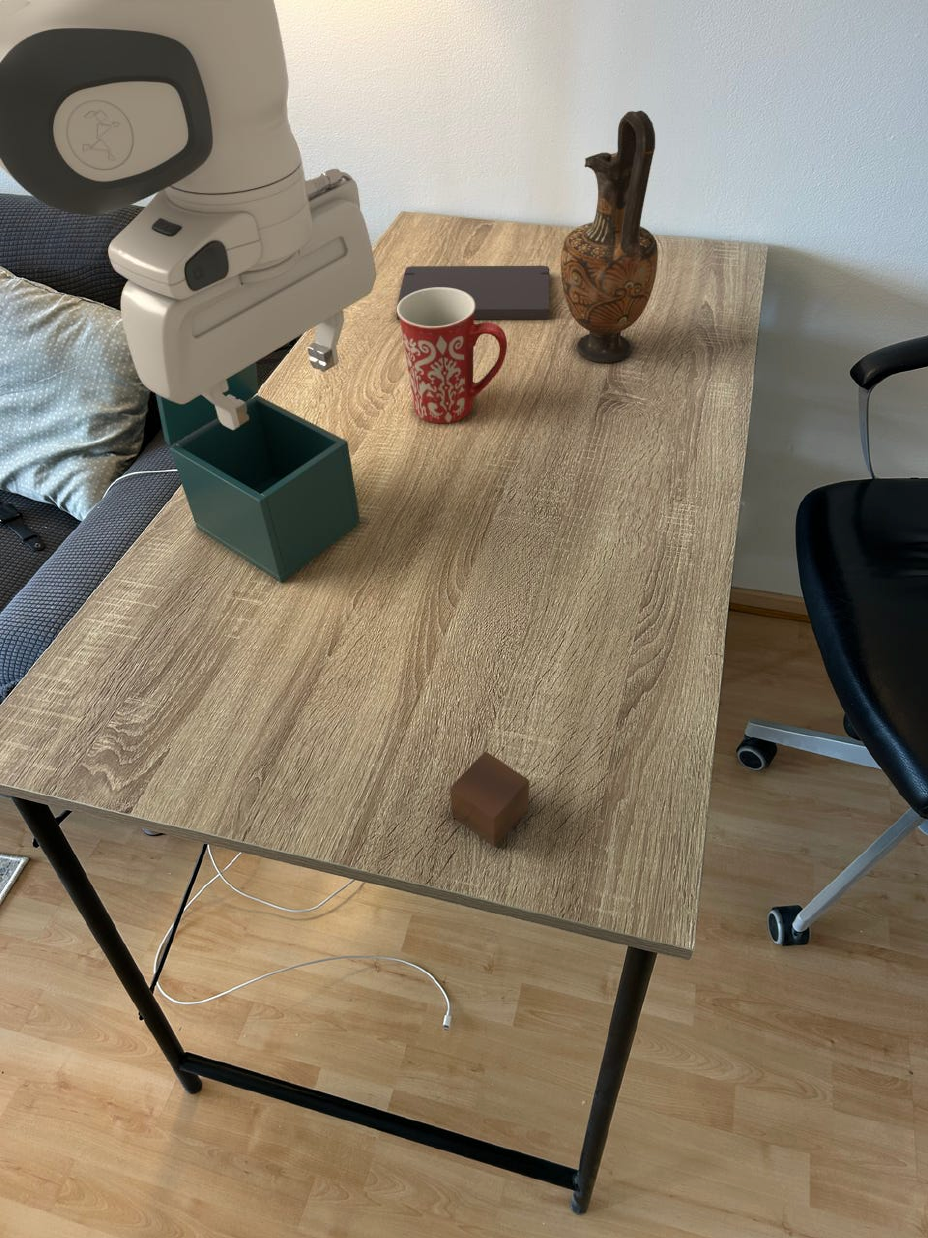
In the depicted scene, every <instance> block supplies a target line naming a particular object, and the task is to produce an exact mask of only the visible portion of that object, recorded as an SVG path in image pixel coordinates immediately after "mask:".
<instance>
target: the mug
mask: <svg viewBox="0 0 928 1238" xmlns="http://www.w3.org/2000/svg"><path fill="white" fill-rule="evenodd" d="M397 304H398V303H397ZM396 308H397V312H396V315H397V314H398V317H399V318H400V319H399V322H400V329H401V335H402V343H403V347H404V354H405V359H406V365H407V373H408V378H409V384H410V390H411V397H412V403H413V409H414V413H416V415H417V416H418V417H419V418H420V419H422V420H423V421H425V422H429V423H433V424H449V423H454V422H457V421H460V420H462V419H464V418H465V417H467V416H468V415H469V414H470V413H471V411H472V410H473V405H474V398H475V397H477V396H478V395H479V394H480V393H481V392H482V391H483V390H485V388H486V387H487V386H488V385H489V384H490V383H491V381H492V380H493V379H494V378H495V377H496V375H497V374H498V373H499V372H500V370H501V368H502V366H503V365H504V362H505V359H506V355H507V348H508V341H507V340H508V339H507V336H506V333H505V331H504V330H503V328H502V327H501V326H500V325H498V324H495V322H488V321H486V322H485V321H484V322H481V323H474V322H475V319H474V312H475V308H476V304H475V301H474V299H473V298H472V297H471V296H470V295H469V294H467V293H466V292H464V291H461V290H458V289H454V288H446V287H435V288H427V289H422V290H418V291H416V292H413V293H411V294H409V295H407V296H406V297H404V298H403V299H402V300H401V301H400V302H399V304H398V306H397V305H396ZM482 335H490V336H492V337H494V338H495V340H496V341H497V343H498V346H499V352H498V356H497V359H496V361H495V363H494V364H493V366H492V367H491V369H490V370H489V371H488V372H487V374H485V376H483V378H482V379H480V380H479V381H478V382H475V381H474V347H475V346H476V345H477V342H478V339H479V337H481V336H482Z"/></svg>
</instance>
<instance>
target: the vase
mask: <svg viewBox="0 0 928 1238" xmlns="http://www.w3.org/2000/svg"><path fill="white" fill-rule="evenodd" d="M655 150H656V132H655V127H654V124H653V122H652V119H651V118H650V117H649V115H648V114H647V113H646V112H645V111H643V110H637V111H633V110H631V111H627V112H626V113H625V114H624V116H622V117H621V118H620V121H619V123H618V128H617V150H616V151H617V152H614V153H610V152H600V153H597V154H593V155H590V156H587V157H585V158H584V162H585V163H584V168H589V169H591V170H592V171H593V173H594V174H595V178H596V183H597V201H596V209H595V215H594V219H593V221H591V222H588V223H584V224H583V225H580V226H578V227H577V228H574V229H573V230H572V231H570V232H569V233H568V234H567V235H566V237H565V238H564V240H563V243H562V246H561V247H562V248H561V254H560V275H561V283H562V290H563V294H564V297H565V301H566V305H567V307H568V310H569V312H570V314H571V316H572V318H573V320H575V322H576V323H577V324H578V325H579V326H581V328H584V329H585V330H586V331H588V332H589V333H587V334H585V335H584V336H582V337H581V338H580V339H579V340H578V342H577V344H576V352H577V353H578V354H579V355H580V356H581V357H582V358H583V359H585V360H587V361H591V362H595V363H601V364H611V363H616V362H620V361H621V360H622V361H623V360H625V358H627V357H628V356H629V355H630V353H631V350H632V347H631V344H630V342H629V340H628V339H627V338H625V337H624V336H622V331H625V330H626V329H629V328H630V327H631V326H632V325H633V324H635V323H636V322H637V321H638V320H639V318H640V317H641V316H642V314H643V313H644V311H645V309H646V308H647V305H648V303H649V300H650V298H651V295H652V292H653V290H654V286H655V282H656V278H657V271H658V263H659V261H658V260H659V248H658V243H657V240H656V238H655V236H654V235H653V234H652V232H650V231H649V230H648V229H647V228H645V227H643V226H641V222H642V221H641V220H642V215H643V209H644V203H645V199H646V193H647V189H648V183H649V177H650V172H651V169H652V163H653V159H654V154H655Z"/></svg>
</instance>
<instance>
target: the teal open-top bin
mask: <svg viewBox="0 0 928 1238" xmlns="http://www.w3.org/2000/svg"><path fill="white" fill-rule="evenodd" d="M244 402H245V403H246V407H247V413H246V414H248V415H249V421H247V422H246V423H244V424H242V425H241V426H239V427H238V428H236V429H235V430H231V429H229V428H228V427H226V426H224V425H223V424H222V423H221V422H220V420H219V418H218V417H217V418H216V419H214V420H212V421H211V422H209V423H207V424H206V425H204V426H202V427H201V428H199V429H197V430H196V431H194V432H192V433H191V434H189V435H188V436H186V437H184V438H183V439H181V440H179V441H178V442H176V443H174V444H173V445H171V446H170V447H169V451H170V454H171V457H172V460H173V462H174V465H175V468H176V471H177V474H178V477H179V480H180V484H181V486H182V489H183V492H184V495H185V498H186V500H187V503H188V507H189V509H190V513H191V515H192V518H193V521H194V524H195V527H196V529H197V530H198V531H200V532H202V533H203V534H205V535H206V536H207V537H209V538H211V539H212V540H214V541H215V542H217V543H219V544H220V545H222V546H223V547H225V548H226V549H228V550H230V551H231V552H232V553H234V554H236V555H237V556H239V557H240V558H242V559H243V560H246V562H248V563H250V564H251V565H253V566H254V567H256V568H257V569H259V570H261V572H263V573H265V574H267V575H268V576H270V577H271V578H273V579H274V580H276V581H277V582H279V583H284V582H285V581H286V580H287V579H290V577H292V576H293V575H294V574H296V573H297V572H298V571H299V570H301V569H302V568H304V567H305V566H306V565H308V564H309V563H311V561H312V560H314V559H316V558H317V557H318V556H319V555H320V554H322V553H323V552H324V551H326V550H327V549H328V548H329V547H331V546H332V545H334V544H335V543H336V542H338V541H339V540H340V539H341V538H343V537H344V536H345V535H347V534H348V533H349V532H351V531H352V530H353V529H354V528H356V527H357V526H358V525H360V524H361V518H360V510H359V506H358V498H357V492H356V487H355V480H354V474H353V473H354V472H353V468H352V467H353V466H352V460H351V455H350V449H349V443H348V441H347V440H346V439H344V438H342V437H340V436H338V435H336V434H334V433H333V432H330V431H328V430H326V429H324V428H322V427H320V426H318V425H317V424H314V423H312V422H311V421H309V420H307V419H305V418H303V417H302V416H299V415H297V414H295V413H294V412H291V411H290V410H287V409H285V408H284V407H282V406H280V405H277V404H276V403H274V402H272V401H270V400H268V399H266V398H264V397H262V396H260V395H258V394H255V395H254V396H252V397H250V398H249V399H247V400H245V401H244Z"/></svg>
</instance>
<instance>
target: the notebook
mask: <svg viewBox="0 0 928 1238" xmlns="http://www.w3.org/2000/svg"><path fill="white" fill-rule="evenodd" d="M550 278H551V277H550V267H549V266H547V265H418V266H417V265H411V266H407V267H405V269H404V273H403V277H402V284H401V286H400V291H399V296H398V299H397V304H396V308H395V309H396V310H395V311H396V319H397V320H400V318H399V317H398V314H397V306H398V304H399V302H400V301H401V300H402V299H403V298H404V297H406V296H407V295H409V294H411V293H413V292H416V291H418V290H422V289H427V288H435V287H446V288H454V289H458V290H461V291H464V292H466V293H467V294H469V295H470V296H471V297H472V298H473V299H474V301H475V304H476V308H475V312H474V320H550Z"/></svg>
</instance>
